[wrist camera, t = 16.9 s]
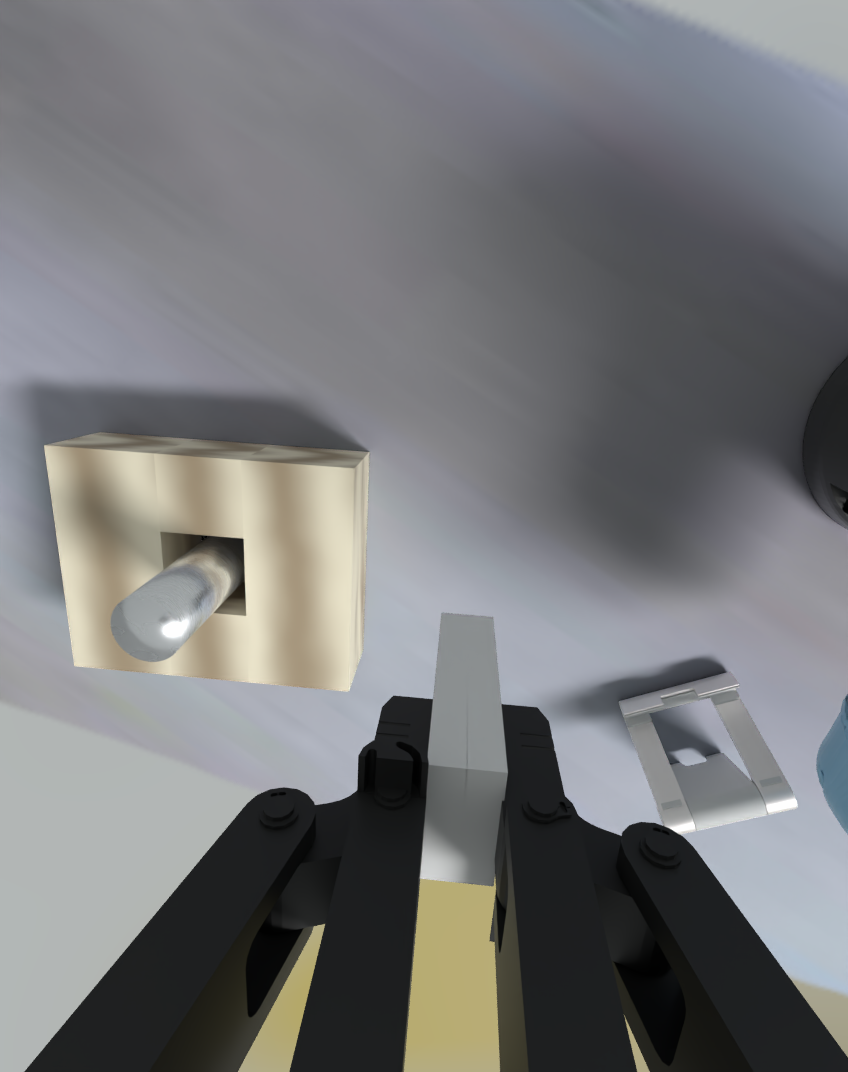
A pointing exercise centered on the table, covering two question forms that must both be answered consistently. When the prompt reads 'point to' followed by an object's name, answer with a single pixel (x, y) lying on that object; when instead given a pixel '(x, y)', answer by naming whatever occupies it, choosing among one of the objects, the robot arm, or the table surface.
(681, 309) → the table surface
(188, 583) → the steel pin
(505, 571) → the table surface
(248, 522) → the block
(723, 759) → the portable electronic device stand
